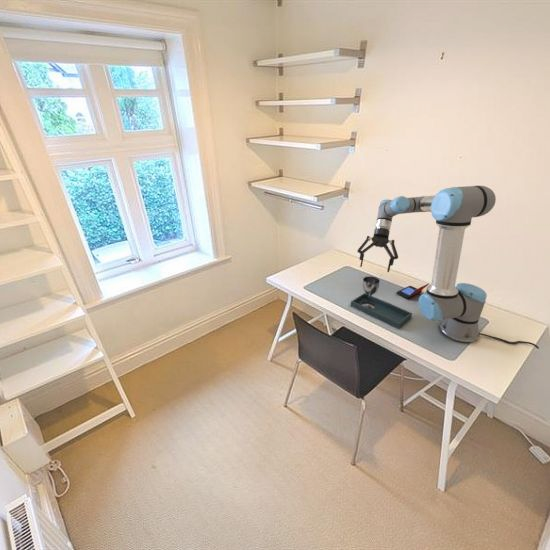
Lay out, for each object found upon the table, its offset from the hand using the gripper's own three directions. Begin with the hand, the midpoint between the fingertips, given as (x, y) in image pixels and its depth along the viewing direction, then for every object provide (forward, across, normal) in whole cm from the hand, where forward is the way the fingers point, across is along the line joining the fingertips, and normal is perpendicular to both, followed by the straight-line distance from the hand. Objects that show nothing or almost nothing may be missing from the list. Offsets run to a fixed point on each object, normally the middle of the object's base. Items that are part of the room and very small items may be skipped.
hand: (374, 268), depth 160 cm
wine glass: (+19, 0, -4) cm, 19 cm away
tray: (+21, -7, -1) cm, 22 cm away
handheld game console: (+7, -22, -18) cm, 29 cm away
